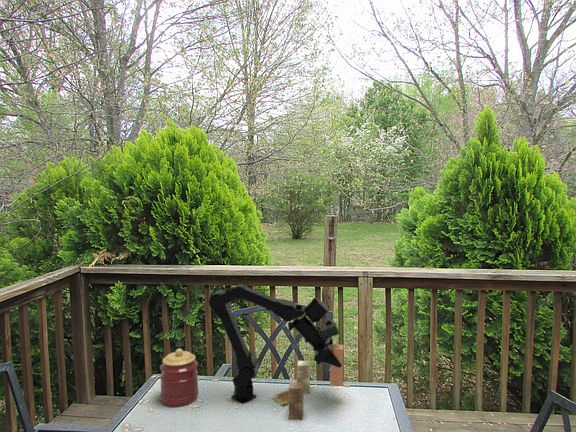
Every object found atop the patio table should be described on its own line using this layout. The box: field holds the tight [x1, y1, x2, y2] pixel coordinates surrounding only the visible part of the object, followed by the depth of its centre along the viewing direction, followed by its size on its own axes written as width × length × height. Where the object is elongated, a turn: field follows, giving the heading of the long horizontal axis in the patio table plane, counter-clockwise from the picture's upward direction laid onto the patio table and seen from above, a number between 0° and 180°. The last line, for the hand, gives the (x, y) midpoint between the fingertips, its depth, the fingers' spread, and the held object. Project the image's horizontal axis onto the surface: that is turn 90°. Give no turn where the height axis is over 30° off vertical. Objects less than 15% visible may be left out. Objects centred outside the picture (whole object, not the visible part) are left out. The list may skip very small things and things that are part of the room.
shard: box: [271, 389, 289, 407], centre depth 138 cm, size 11×8×2 cm
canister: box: [159, 348, 199, 407], centre depth 138 cm, size 13×13×18 cm
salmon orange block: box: [329, 343, 344, 387], centre depth 135 cm, size 4×4×12 cm
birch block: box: [296, 360, 311, 394], centre depth 144 cm, size 4×4×10 cm
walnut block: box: [288, 381, 305, 421], centre depth 126 cm, size 4×4×10 cm
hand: (340, 363), depth 134 cm, fingers closed on salmon orange block, 4 cm apart
